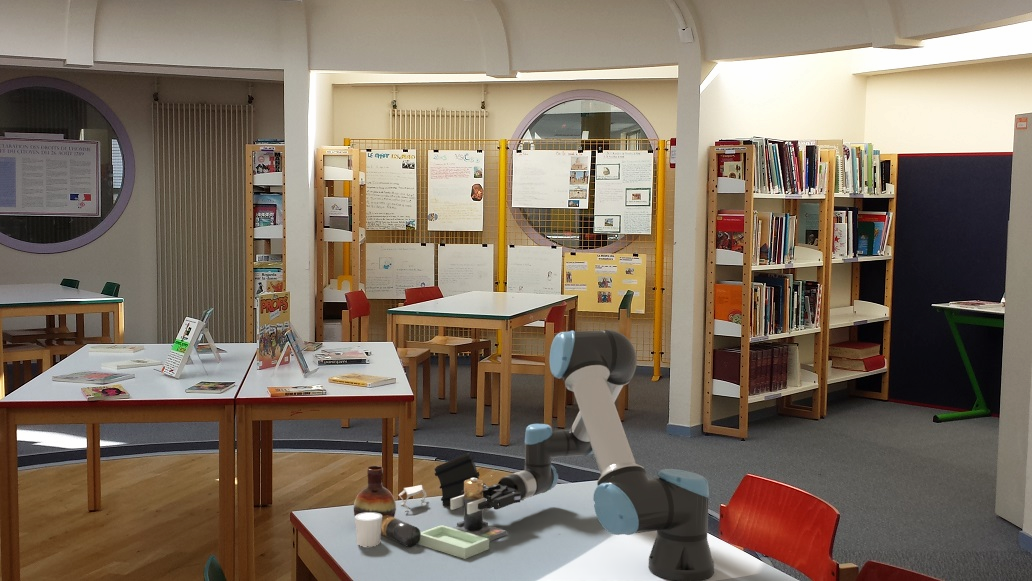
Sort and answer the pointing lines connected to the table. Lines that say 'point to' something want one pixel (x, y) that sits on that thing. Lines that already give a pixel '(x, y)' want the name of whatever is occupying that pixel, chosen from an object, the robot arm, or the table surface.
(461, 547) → the trough
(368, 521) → the white cup
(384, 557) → the table surface
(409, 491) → the white legged piece
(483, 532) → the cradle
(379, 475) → the vase
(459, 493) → the magazine
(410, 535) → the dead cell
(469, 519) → the cell
